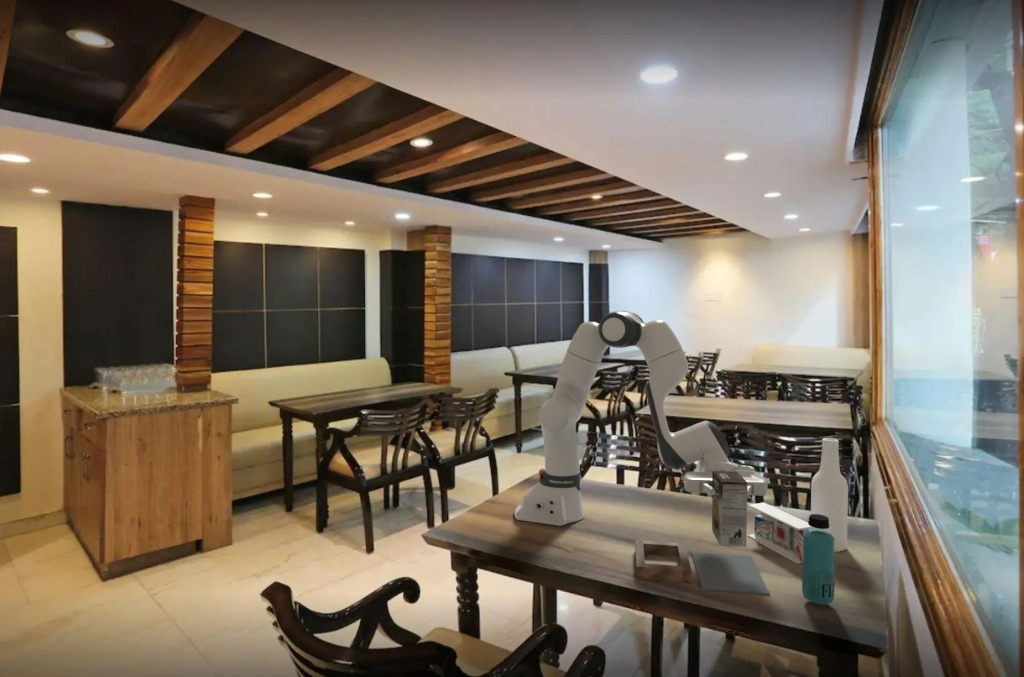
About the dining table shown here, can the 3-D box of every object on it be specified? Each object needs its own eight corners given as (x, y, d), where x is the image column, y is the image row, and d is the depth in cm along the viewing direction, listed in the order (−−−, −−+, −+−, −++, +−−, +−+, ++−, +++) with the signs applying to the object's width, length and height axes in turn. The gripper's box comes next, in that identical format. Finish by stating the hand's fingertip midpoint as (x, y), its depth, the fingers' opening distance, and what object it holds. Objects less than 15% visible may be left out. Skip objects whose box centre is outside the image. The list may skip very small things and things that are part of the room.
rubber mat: (702, 589, 133) (702, 587, 133) (691, 553, 153) (691, 551, 153) (769, 595, 131) (769, 593, 130) (750, 557, 150) (750, 555, 150)
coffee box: (710, 531, 146) (711, 470, 145) (736, 532, 145) (737, 470, 144) (719, 546, 137) (720, 481, 136) (747, 547, 136) (748, 481, 135)
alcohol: (812, 550, 154) (814, 441, 152) (808, 537, 162) (810, 434, 160) (849, 555, 151) (852, 444, 149) (843, 542, 159) (846, 437, 157)
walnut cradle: (636, 578, 139) (636, 566, 139) (635, 550, 155) (635, 539, 155) (691, 582, 137) (691, 570, 137) (684, 554, 152) (684, 543, 152)
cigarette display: (747, 536, 164) (747, 504, 164) (763, 533, 166) (763, 502, 165) (801, 566, 145) (802, 530, 144) (818, 563, 147) (819, 527, 146)
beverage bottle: (822, 614, 122) (824, 524, 121) (794, 600, 128) (796, 514, 127) (840, 606, 125) (843, 518, 124) (812, 593, 131) (814, 509, 130)
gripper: (680, 463, 155) (685, 479, 142) (759, 466, 151) (773, 483, 138) (680, 486, 155) (685, 503, 142) (759, 490, 152) (772, 508, 138)
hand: (729, 493), depth 140 cm, fingers closed on coffee box, 6 cm apart
